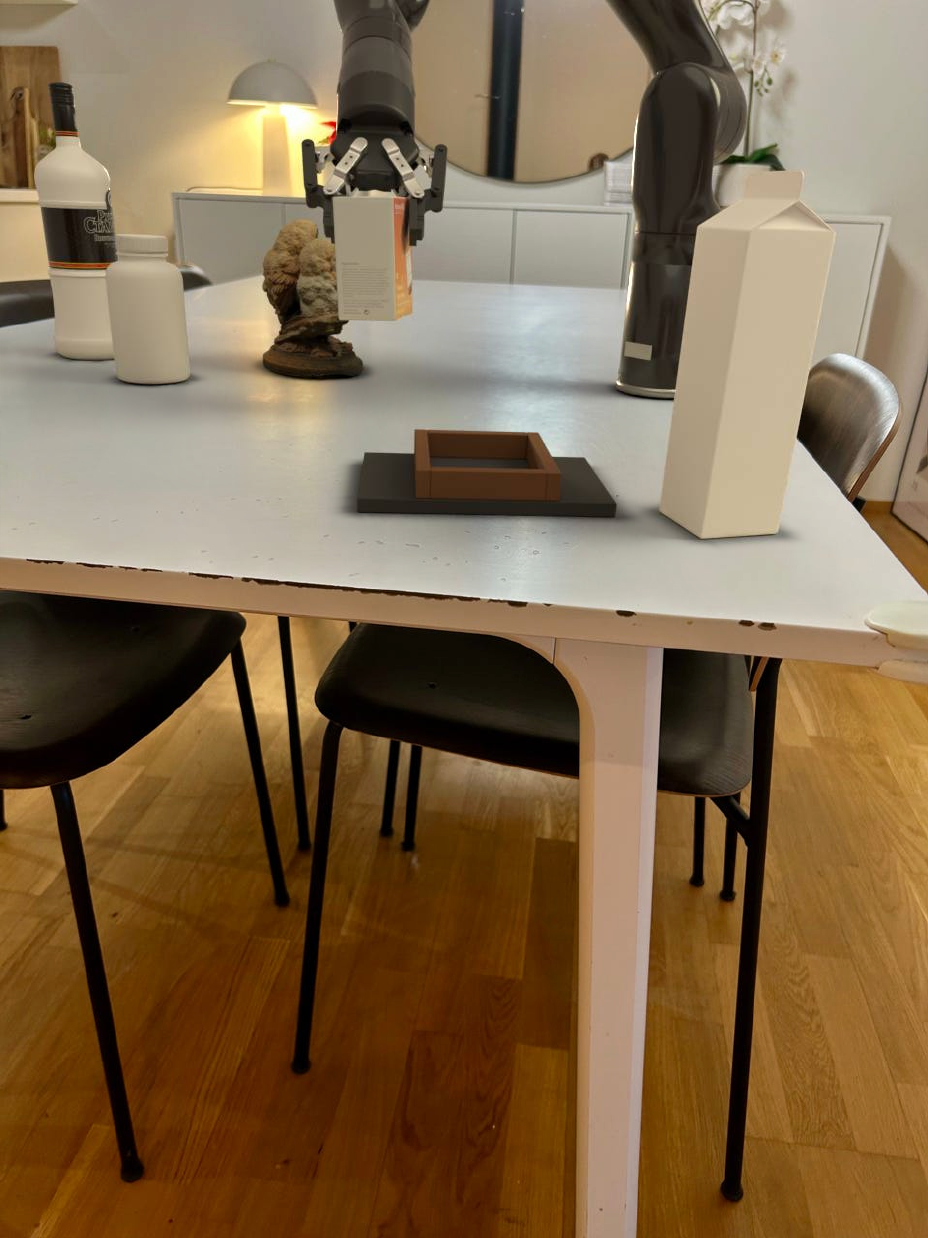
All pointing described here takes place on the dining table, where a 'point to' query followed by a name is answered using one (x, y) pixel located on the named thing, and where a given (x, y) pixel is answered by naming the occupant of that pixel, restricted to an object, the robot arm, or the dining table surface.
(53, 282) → the vodka
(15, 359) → the dining table surface
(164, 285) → the pill bottle
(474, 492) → the dock pad
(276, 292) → the owl figurine
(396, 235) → the small box
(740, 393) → the milk
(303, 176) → the robot arm
